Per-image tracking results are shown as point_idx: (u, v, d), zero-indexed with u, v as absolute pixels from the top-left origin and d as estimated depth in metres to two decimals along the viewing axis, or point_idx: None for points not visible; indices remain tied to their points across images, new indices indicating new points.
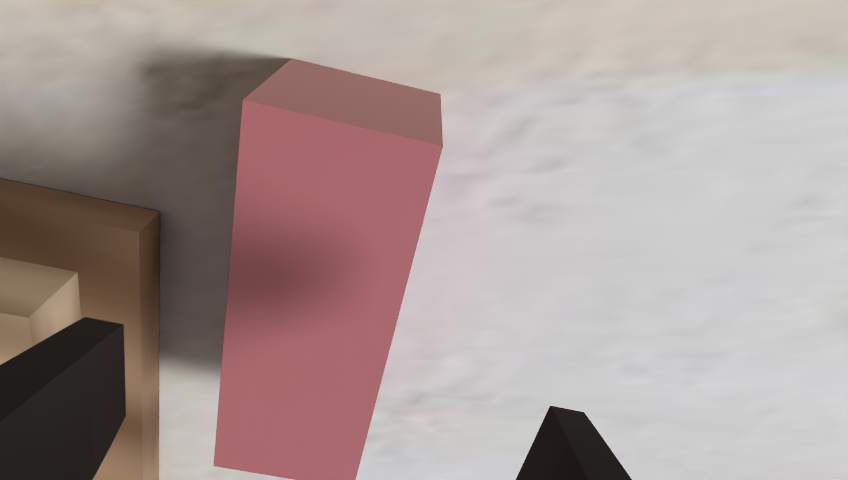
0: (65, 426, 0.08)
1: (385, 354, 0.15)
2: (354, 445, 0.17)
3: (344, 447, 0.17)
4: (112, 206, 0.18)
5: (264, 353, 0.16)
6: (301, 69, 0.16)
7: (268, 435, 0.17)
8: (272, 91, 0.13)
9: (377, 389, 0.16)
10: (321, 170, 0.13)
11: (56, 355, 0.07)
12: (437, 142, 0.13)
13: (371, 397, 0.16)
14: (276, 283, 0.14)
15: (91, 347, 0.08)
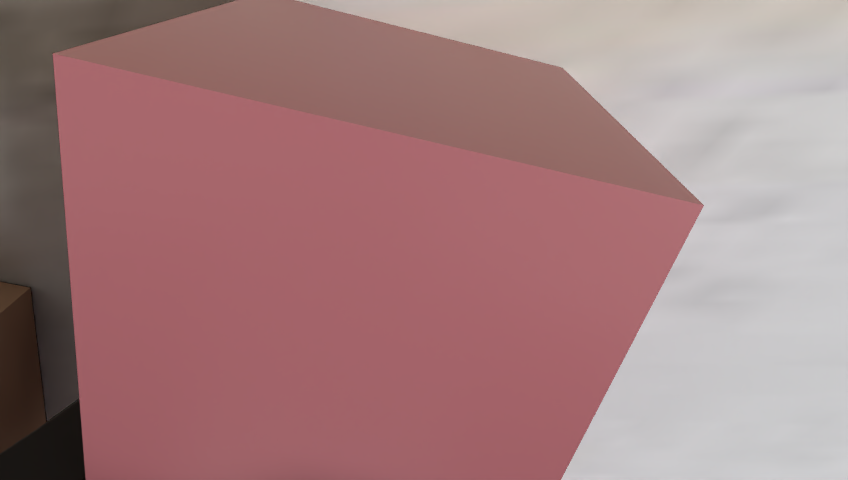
0: None
1: None
2: None
3: None
4: None
5: None
6: (277, 9, 0.07)
7: None
8: (180, 40, 0.05)
9: None
10: (322, 274, 0.04)
11: None
12: (678, 192, 0.04)
13: None
14: None
15: None
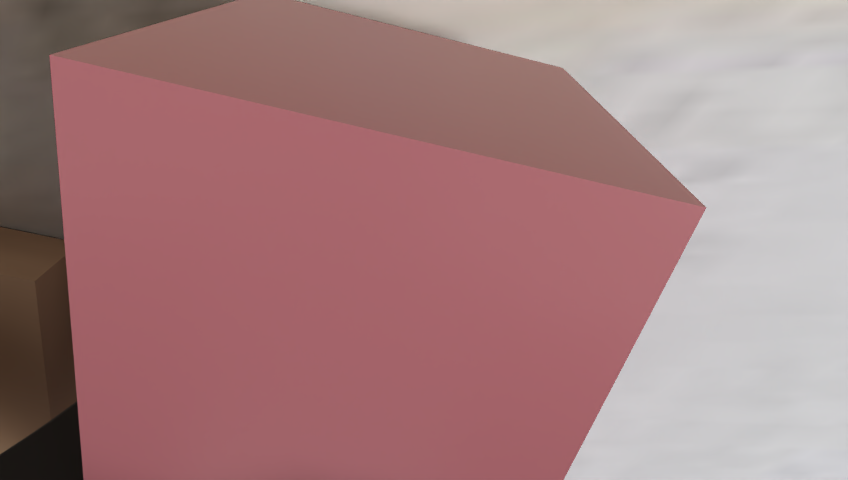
0: None
1: None
2: None
3: None
4: (0, 235, 0.11)
5: None
6: (276, 10, 0.07)
7: None
8: (179, 41, 0.05)
9: None
10: (321, 276, 0.04)
11: None
12: (680, 194, 0.04)
13: None
14: None
15: None
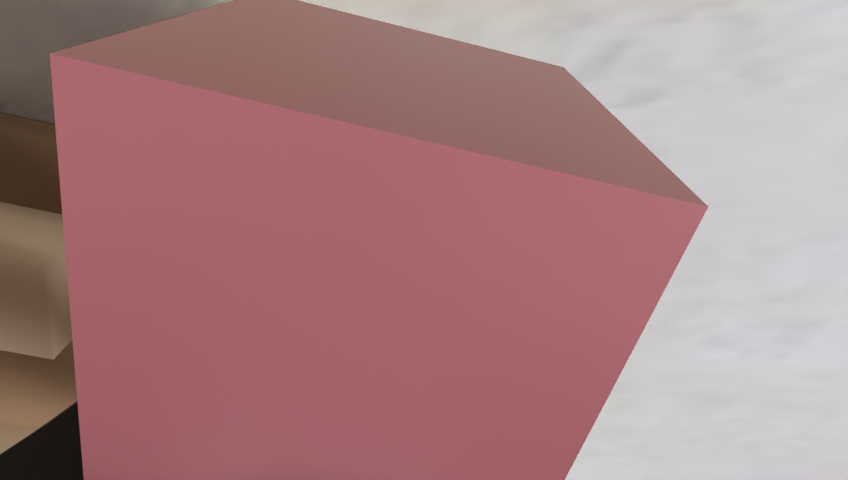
0: None
1: None
2: None
3: None
4: None
5: None
6: (277, 9, 0.07)
7: None
8: (179, 39, 0.05)
9: None
10: (322, 276, 0.04)
11: None
12: (682, 193, 0.04)
13: None
14: None
15: None
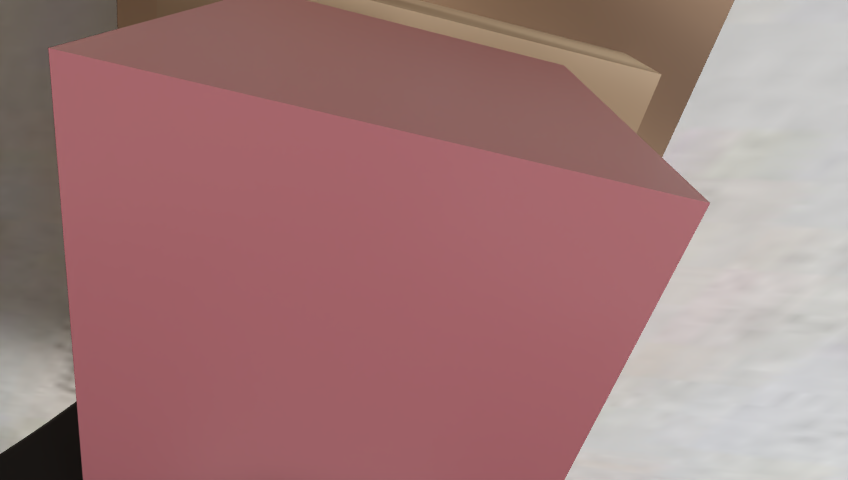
0: None
1: None
2: None
3: None
4: None
5: None
6: (277, 6, 0.07)
7: None
8: (179, 36, 0.05)
9: None
10: (321, 272, 0.04)
11: None
12: (684, 189, 0.04)
13: None
14: None
15: None
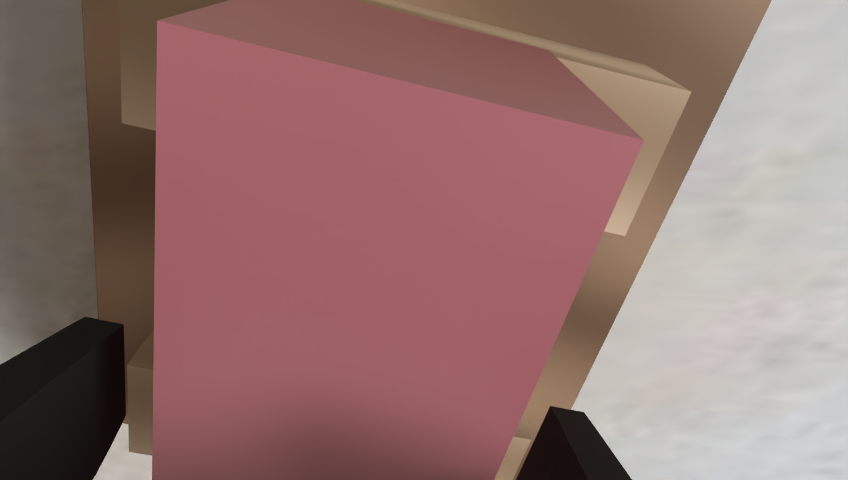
0: (65, 426, 0.08)
1: None
2: None
3: None
4: None
5: None
6: None
7: None
8: (239, 16, 0.06)
9: None
10: (351, 196, 0.06)
11: (56, 355, 0.07)
12: (626, 131, 0.05)
13: None
14: (250, 421, 0.07)
15: (91, 347, 0.08)
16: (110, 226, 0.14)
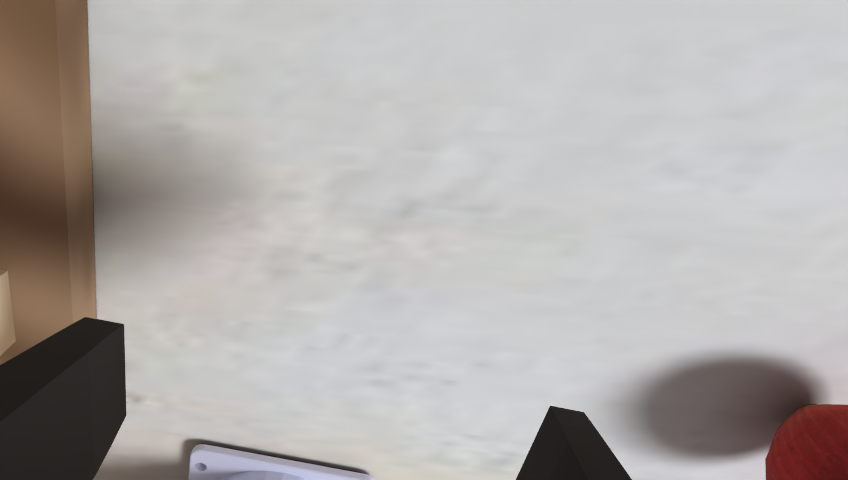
0: (65, 426, 0.08)
1: None
2: None
3: None
4: None
5: None
6: None
7: None
8: None
9: None
10: None
11: (56, 355, 0.07)
12: None
13: None
14: None
15: (91, 347, 0.08)
16: None
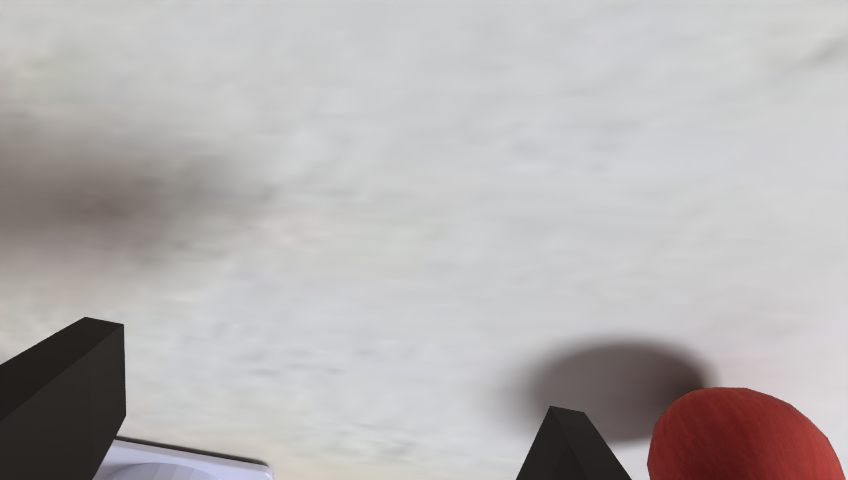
0: (65, 426, 0.08)
1: None
2: None
3: None
4: None
5: None
6: None
7: None
8: None
9: None
10: None
11: (56, 355, 0.07)
12: None
13: None
14: None
15: (91, 347, 0.08)
16: None
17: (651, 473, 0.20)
